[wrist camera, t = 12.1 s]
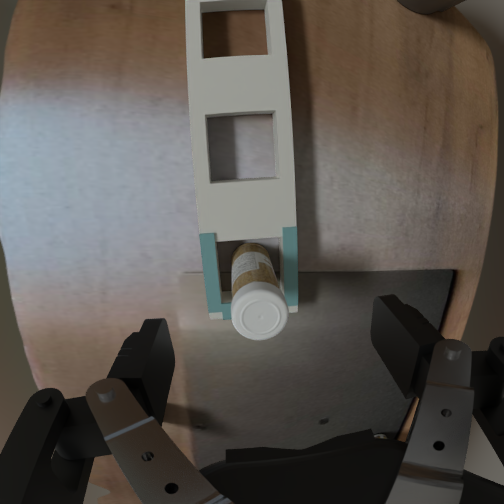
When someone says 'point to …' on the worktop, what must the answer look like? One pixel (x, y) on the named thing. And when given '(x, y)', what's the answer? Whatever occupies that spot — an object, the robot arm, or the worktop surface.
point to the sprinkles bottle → (256, 294)
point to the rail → (250, 189)
